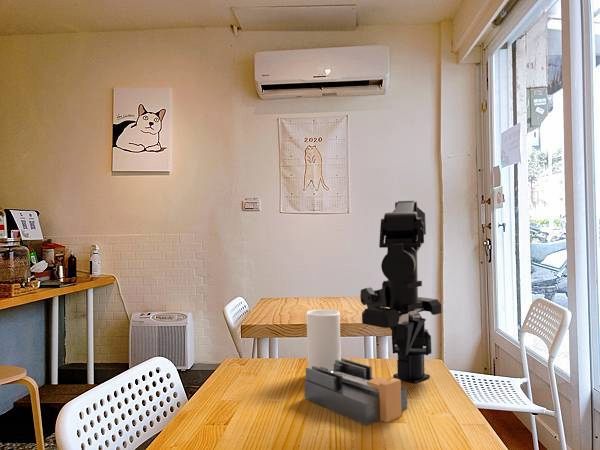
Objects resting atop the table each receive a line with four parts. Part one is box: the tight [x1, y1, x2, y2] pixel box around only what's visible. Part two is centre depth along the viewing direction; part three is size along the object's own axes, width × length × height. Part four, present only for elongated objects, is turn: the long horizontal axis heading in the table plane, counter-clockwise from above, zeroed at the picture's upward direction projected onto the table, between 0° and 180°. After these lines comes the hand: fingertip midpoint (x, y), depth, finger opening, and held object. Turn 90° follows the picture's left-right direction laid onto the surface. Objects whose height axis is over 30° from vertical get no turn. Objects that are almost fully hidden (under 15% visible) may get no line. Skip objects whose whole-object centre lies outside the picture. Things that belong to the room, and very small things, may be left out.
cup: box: [306, 308, 342, 371], centre depth 112 cm, size 8×8×16 cm
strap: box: [330, 370, 380, 392], centre depth 95 cm, size 14×3×1 cm, turn 39°
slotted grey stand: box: [303, 357, 408, 427], centre depth 94 cm, size 12×18×6 cm, turn 39°
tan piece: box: [367, 376, 403, 424], centre depth 88 cm, size 4×5×7 cm
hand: (404, 354), depth 89 cm, fingers closed
